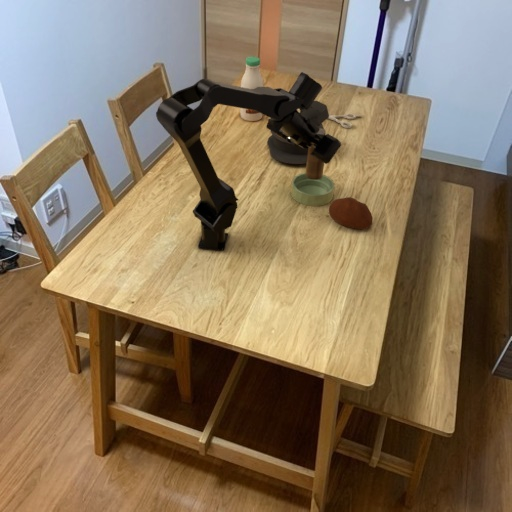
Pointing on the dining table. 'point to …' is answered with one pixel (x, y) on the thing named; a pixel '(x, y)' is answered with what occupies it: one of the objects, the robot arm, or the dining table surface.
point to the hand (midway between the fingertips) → (320, 151)
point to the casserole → (287, 150)
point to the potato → (351, 213)
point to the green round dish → (312, 190)
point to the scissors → (344, 117)
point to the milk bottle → (251, 86)
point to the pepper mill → (314, 162)
